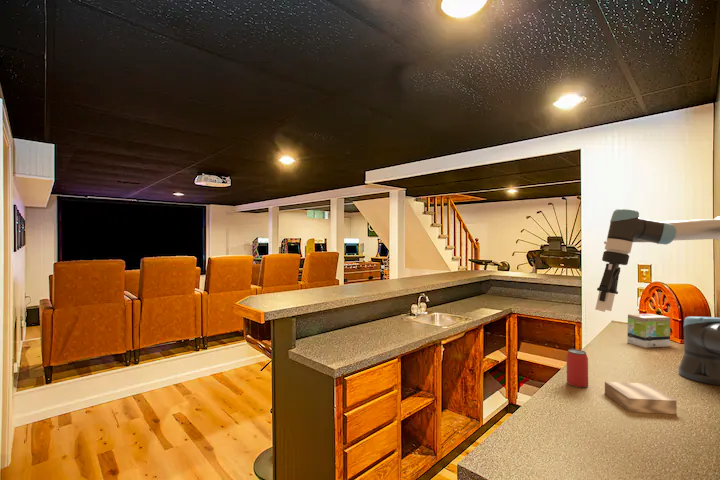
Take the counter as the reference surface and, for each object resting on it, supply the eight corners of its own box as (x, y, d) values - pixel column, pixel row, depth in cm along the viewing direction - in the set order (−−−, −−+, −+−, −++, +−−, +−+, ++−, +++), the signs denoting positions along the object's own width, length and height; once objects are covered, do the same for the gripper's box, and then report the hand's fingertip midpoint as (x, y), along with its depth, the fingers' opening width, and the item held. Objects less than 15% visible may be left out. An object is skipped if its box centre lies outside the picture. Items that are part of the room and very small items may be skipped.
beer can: (591, 389, 123) (591, 354, 123) (570, 387, 124) (570, 353, 125) (583, 381, 130) (583, 349, 130) (564, 380, 131) (563, 348, 131)
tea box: (646, 348, 170) (646, 318, 170) (626, 342, 180) (626, 313, 180) (671, 346, 173) (670, 316, 173) (650, 341, 183) (650, 312, 183)
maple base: (646, 395, 118) (646, 383, 118) (676, 414, 105) (676, 400, 105) (604, 393, 119) (604, 381, 119) (629, 411, 106) (629, 398, 107)
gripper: (609, 253, 137) (597, 306, 137) (597, 246, 119) (584, 307, 119) (633, 257, 132) (621, 312, 132) (625, 250, 114) (610, 314, 114)
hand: (603, 310), depth 126 cm, fingers open, 13 cm apart
